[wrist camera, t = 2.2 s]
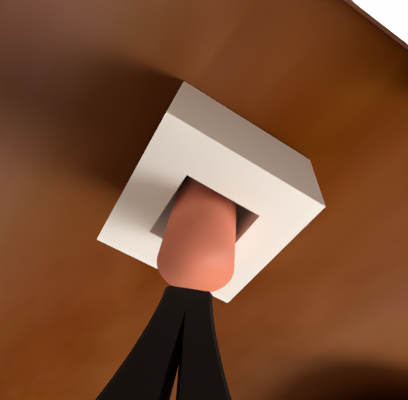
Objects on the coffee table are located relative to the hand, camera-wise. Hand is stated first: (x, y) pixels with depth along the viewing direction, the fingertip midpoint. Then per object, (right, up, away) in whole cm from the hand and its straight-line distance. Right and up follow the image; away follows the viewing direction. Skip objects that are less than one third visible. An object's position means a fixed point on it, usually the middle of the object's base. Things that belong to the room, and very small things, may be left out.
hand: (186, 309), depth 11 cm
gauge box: (+1, +5, +7) cm, 8 cm away
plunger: (+1, +3, +5) cm, 6 cm away
